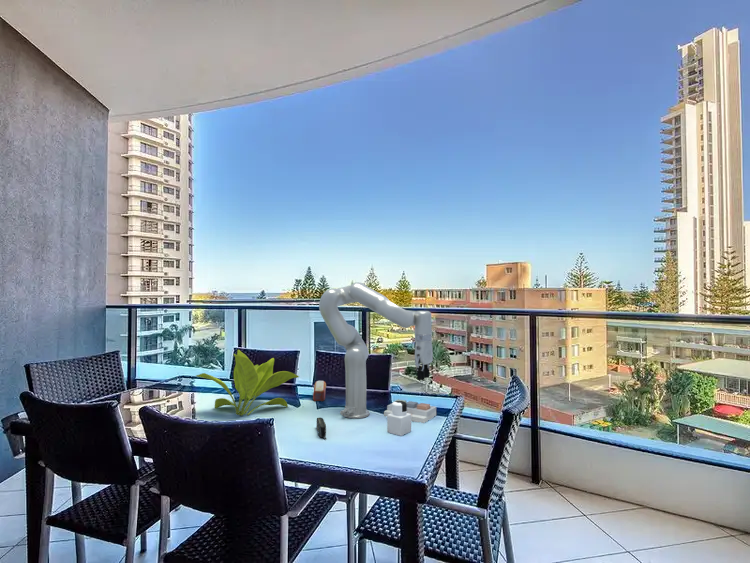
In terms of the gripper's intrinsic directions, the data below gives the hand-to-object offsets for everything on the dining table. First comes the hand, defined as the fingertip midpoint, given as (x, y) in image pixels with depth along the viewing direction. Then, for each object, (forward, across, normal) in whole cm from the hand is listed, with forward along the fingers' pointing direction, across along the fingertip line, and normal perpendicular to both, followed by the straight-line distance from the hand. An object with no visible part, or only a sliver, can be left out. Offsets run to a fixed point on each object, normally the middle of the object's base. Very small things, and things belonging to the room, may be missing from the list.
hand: (423, 378), depth 183 cm
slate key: (+14, 0, +6) cm, 15 cm away
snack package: (+18, +4, +63) cm, 66 cm away
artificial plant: (+18, -35, +74) cm, 84 cm away
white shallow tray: (+17, -2, +6) cm, 18 cm away
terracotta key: (+14, 0, 0) cm, 14 cm away
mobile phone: (+18, -41, +25) cm, 51 cm away
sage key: (+14, 0, +12) cm, 18 cm away
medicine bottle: (+18, -23, 0) cm, 29 cm away
